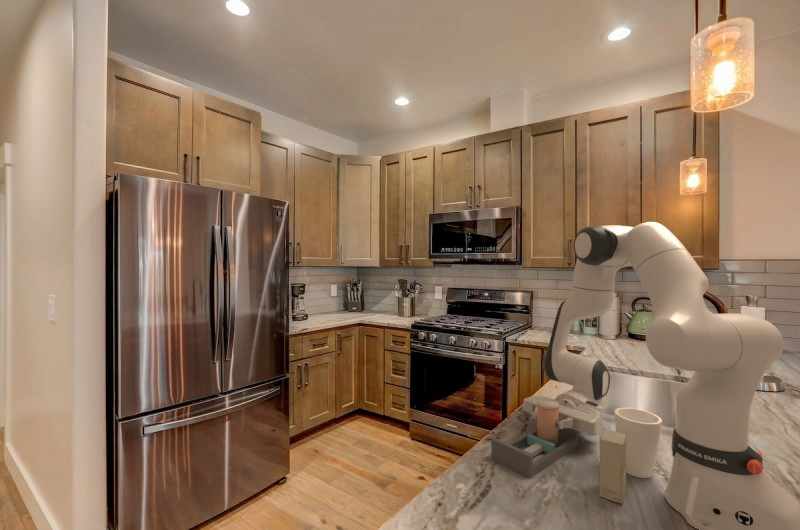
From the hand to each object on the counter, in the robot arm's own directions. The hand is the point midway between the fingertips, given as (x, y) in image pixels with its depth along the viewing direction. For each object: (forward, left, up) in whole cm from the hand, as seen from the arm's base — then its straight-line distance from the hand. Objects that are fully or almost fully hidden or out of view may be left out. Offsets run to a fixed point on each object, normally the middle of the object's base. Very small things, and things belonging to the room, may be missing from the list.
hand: (545, 421), depth 97 cm
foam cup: (-19, -7, -7) cm, 21 cm away
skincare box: (-19, +7, -7) cm, 21 cm away
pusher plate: (0, +5, -7) cm, 9 cm away
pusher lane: (0, +4, -7) cm, 8 cm away
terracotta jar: (0, -1, -6) cm, 6 cm away
